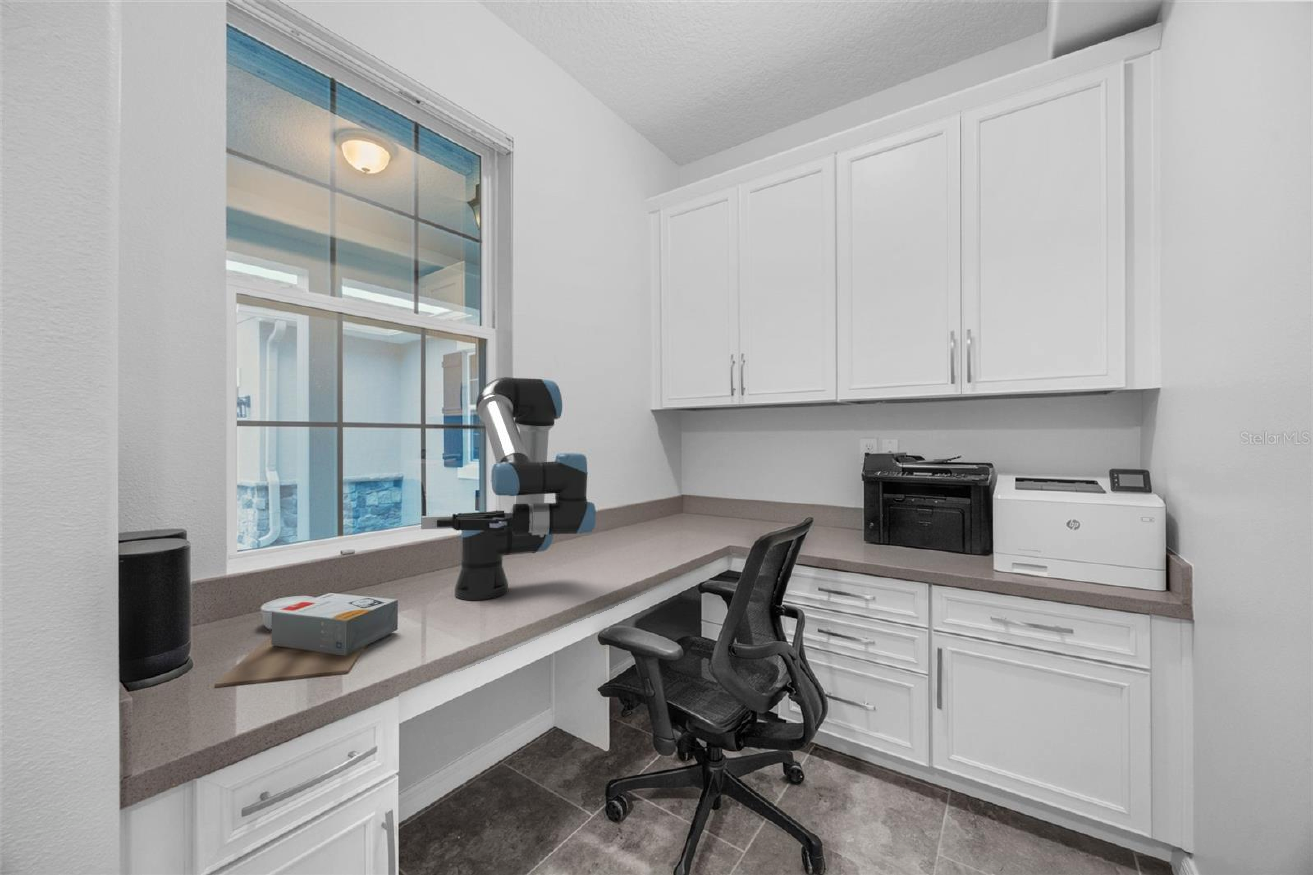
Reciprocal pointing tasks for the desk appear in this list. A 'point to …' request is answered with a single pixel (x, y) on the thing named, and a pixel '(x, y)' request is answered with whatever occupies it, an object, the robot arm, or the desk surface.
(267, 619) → the ramekin
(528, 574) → the desk surface
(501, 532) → the robot arm
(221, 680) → the walnut board
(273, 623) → the hard drive box
